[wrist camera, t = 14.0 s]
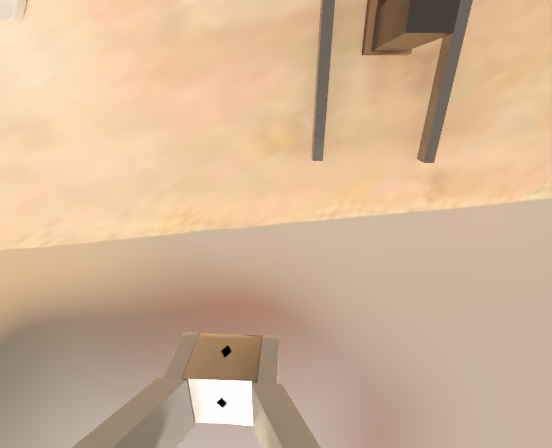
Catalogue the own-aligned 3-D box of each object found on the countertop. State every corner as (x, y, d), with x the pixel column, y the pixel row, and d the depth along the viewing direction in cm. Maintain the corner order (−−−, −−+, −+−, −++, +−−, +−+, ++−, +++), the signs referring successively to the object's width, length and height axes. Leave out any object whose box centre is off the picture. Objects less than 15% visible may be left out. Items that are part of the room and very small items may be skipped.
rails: (311, 157, 37) (312, 160, 35) (332, -189, 25) (335, -212, 23) (426, 159, 37) (433, 162, 35) (506, -194, 24) (524, -218, 22)
